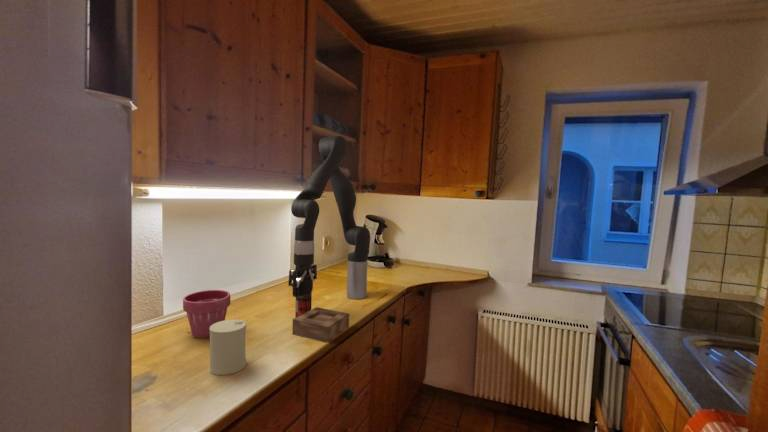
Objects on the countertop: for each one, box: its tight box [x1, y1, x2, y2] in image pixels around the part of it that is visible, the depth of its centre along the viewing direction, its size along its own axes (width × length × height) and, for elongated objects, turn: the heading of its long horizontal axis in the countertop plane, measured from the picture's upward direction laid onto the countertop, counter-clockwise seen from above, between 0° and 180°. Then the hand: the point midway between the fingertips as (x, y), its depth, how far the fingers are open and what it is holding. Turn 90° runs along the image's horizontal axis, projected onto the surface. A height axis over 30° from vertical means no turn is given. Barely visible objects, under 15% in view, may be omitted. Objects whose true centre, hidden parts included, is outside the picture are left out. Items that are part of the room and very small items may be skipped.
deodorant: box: [294, 277, 313, 318], centre depth 130 cm, size 6×6×15 cm
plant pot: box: [182, 289, 231, 339], centre depth 114 cm, size 14×14×13 cm
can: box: [208, 319, 247, 376], centre depth 93 cm, size 9×9×12 cm
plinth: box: [292, 306, 350, 343], centre depth 119 cm, size 14×14×5 cm
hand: (302, 293), depth 130 cm, fingers open, 8 cm apart
